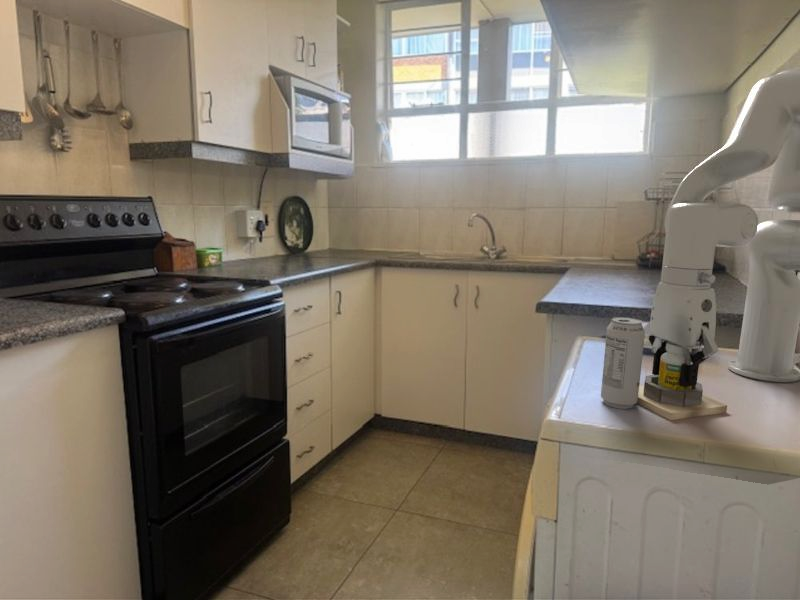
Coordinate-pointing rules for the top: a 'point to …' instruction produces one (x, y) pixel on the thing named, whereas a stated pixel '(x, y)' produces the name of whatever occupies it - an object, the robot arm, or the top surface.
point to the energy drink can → (622, 362)
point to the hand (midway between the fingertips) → (673, 378)
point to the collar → (677, 401)
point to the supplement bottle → (671, 367)
